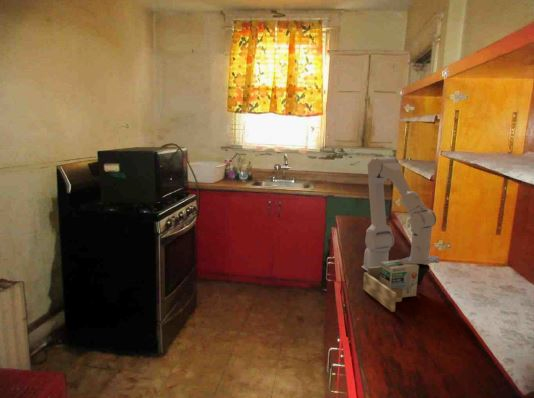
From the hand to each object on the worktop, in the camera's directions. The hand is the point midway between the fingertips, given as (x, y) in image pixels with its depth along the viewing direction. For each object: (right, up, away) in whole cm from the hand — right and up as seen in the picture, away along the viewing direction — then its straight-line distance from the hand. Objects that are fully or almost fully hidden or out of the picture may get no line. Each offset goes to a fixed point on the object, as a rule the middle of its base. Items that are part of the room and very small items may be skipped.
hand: (417, 284), depth 129 cm
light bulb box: (-7, -3, -2) cm, 8 cm away
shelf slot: (-12, -3, -6) cm, 14 cm away
